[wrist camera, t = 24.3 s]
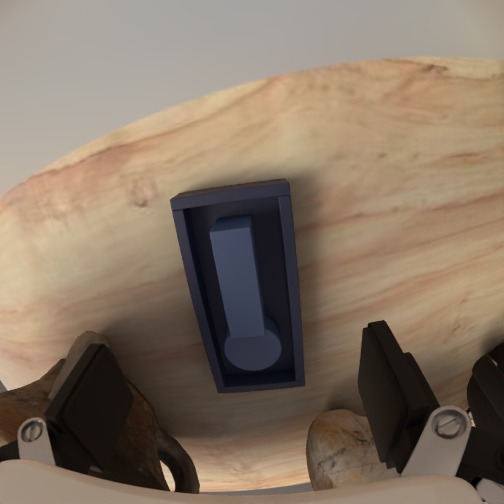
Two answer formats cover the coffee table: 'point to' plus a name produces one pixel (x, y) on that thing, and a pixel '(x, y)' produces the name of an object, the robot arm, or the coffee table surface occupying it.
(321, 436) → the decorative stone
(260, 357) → the blue spoon
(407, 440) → the robot arm
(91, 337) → the bowl
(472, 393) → the mug
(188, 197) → the blue tray
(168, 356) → the coffee table surface
